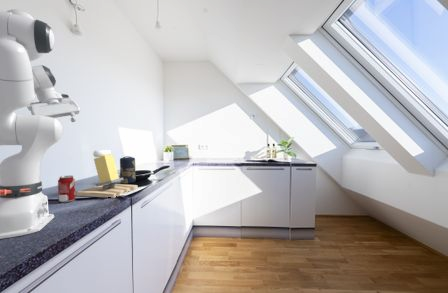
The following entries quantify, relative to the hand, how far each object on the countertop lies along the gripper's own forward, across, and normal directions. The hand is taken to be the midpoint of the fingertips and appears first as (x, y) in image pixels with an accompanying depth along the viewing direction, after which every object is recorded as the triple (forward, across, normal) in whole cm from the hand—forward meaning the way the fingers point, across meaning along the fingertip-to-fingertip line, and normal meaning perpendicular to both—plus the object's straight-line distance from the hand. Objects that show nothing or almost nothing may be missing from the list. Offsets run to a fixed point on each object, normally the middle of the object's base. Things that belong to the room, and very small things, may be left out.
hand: (63, 123), depth 116 cm
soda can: (+34, -11, +15) cm, 38 cm away
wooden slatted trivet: (+36, +11, +20) cm, 43 cm away
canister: (+33, +30, +36) cm, 57 cm away
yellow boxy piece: (+33, +12, +18) cm, 39 cm away
